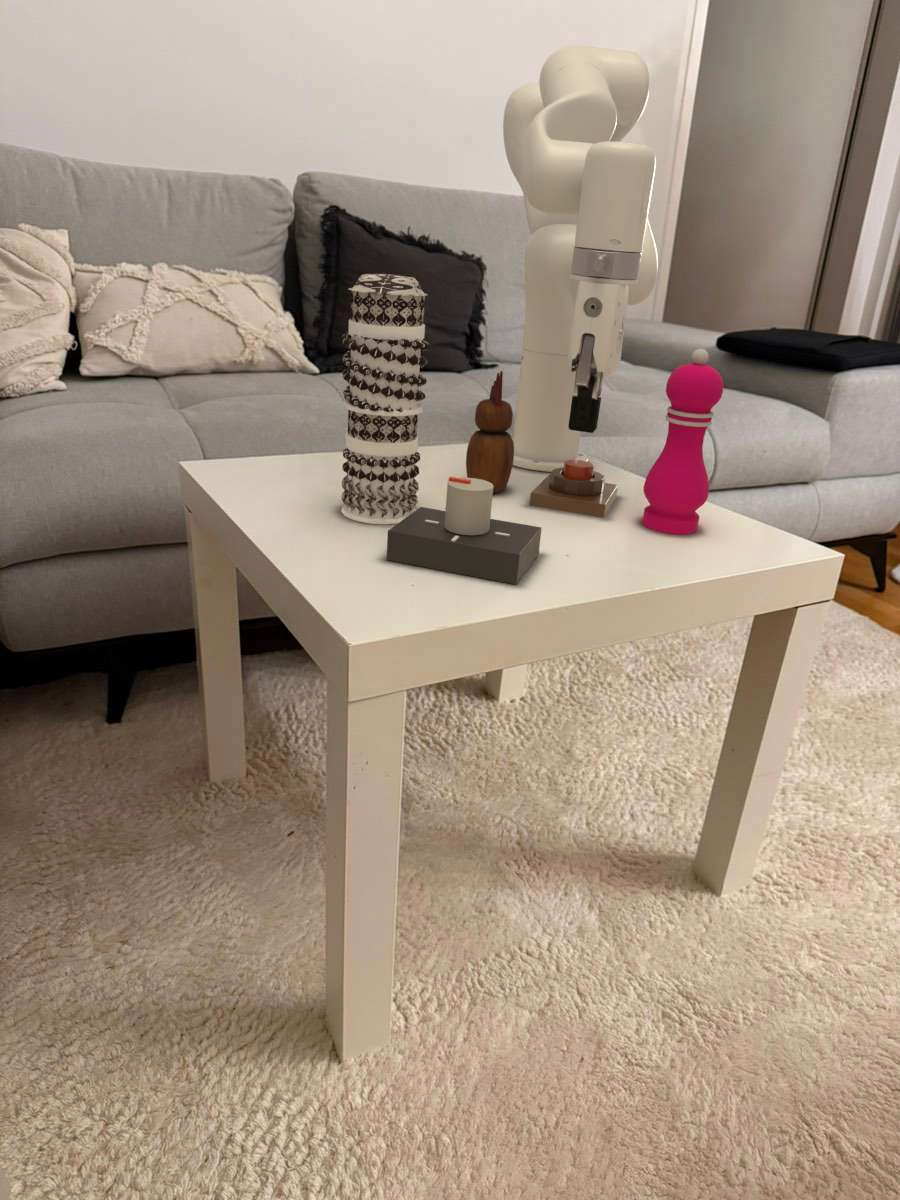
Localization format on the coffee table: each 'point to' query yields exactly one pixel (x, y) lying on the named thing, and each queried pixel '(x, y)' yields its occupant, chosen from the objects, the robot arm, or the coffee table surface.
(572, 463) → the button
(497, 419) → the wooden figurine
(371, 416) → the decorative candle
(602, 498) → the button block
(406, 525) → the panel
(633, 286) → the robot arm
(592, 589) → the coffee table surface
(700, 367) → the pepper mill
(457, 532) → the knob
